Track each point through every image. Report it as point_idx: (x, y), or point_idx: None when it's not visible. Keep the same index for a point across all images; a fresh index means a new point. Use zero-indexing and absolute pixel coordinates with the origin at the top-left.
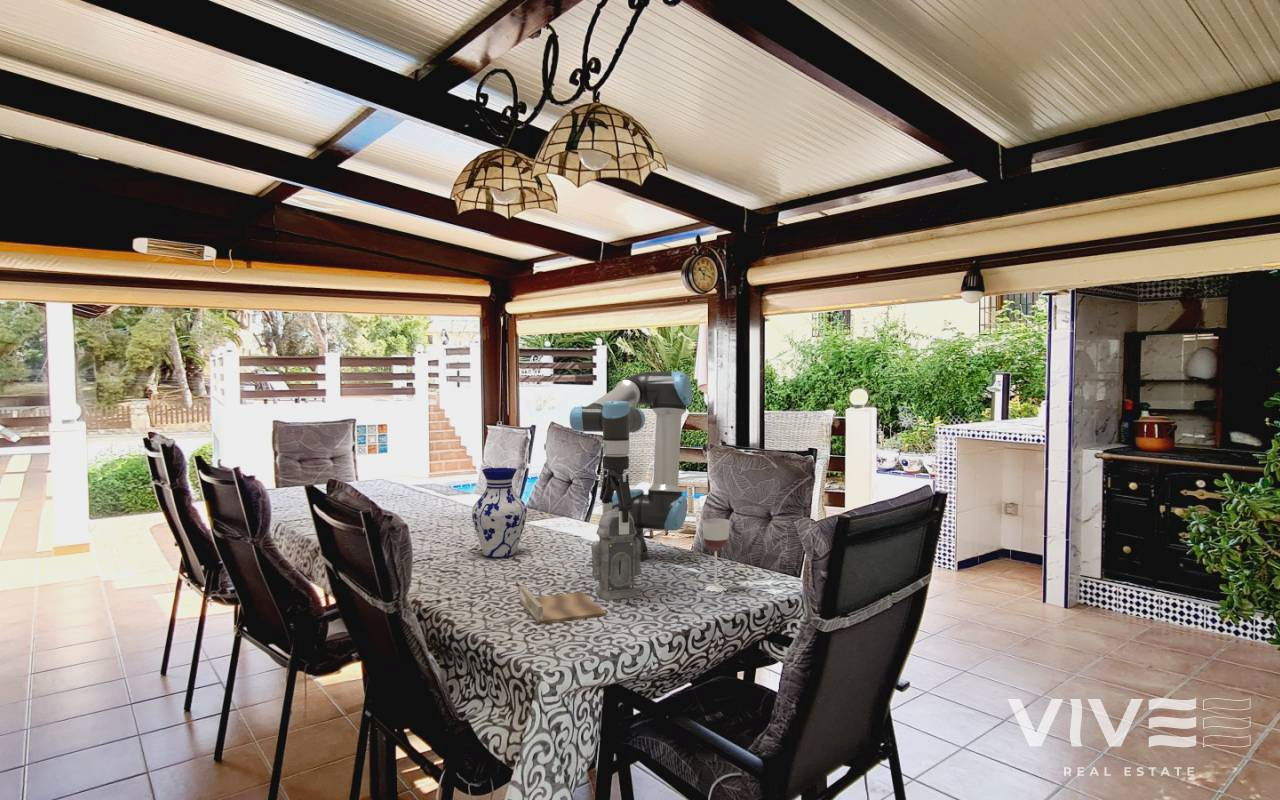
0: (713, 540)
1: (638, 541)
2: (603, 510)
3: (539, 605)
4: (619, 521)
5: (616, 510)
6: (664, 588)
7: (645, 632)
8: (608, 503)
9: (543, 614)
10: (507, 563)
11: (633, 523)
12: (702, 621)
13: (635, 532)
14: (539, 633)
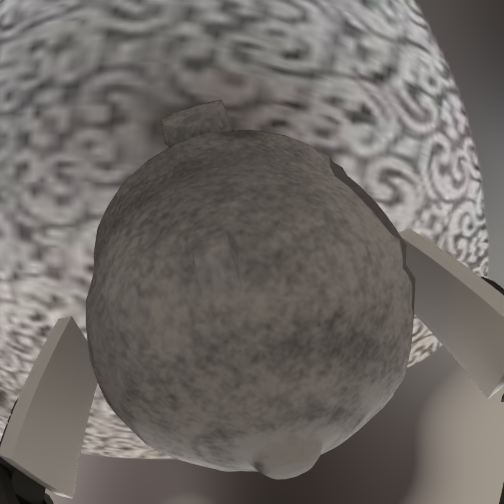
0: None
1: (226, 114)
2: (80, 452)
3: None
4: (448, 338)
5: (330, 441)
6: (173, 39)
7: (459, 178)
8: (33, 476)
9: None
10: (10, 382)
11: (343, 187)
12: (438, 58)
13: (319, 155)
14: None
